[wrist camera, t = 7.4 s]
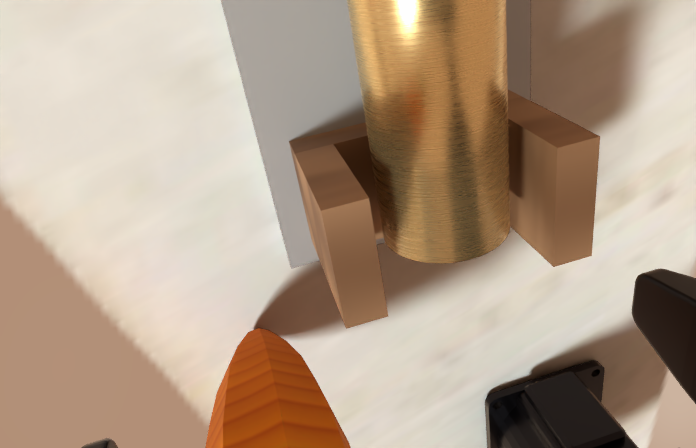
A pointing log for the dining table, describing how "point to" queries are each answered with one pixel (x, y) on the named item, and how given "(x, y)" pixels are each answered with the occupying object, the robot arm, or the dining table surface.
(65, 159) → the dining table surface
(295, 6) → the board
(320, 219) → the wooden u-shaped cradle
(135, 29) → the dining table surface
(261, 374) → the carrot
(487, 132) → the tube
